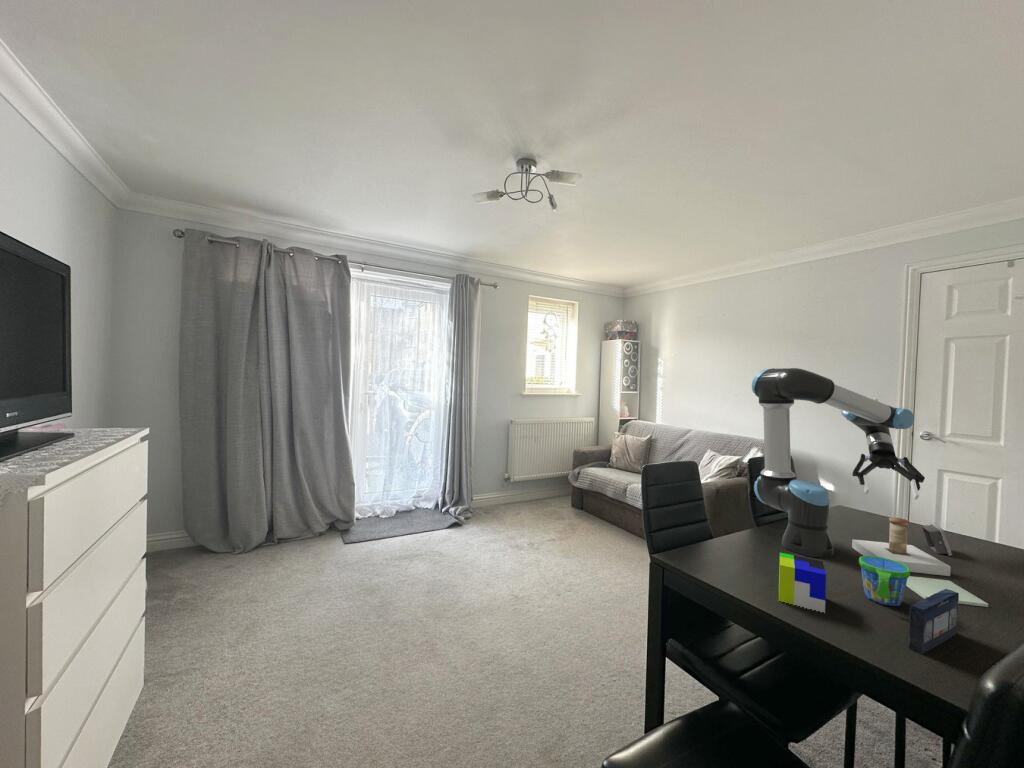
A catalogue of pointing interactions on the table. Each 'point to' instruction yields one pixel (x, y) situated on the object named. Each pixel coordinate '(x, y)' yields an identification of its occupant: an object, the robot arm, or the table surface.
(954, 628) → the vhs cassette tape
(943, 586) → the pad
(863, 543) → the socket block
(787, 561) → the puzzle toy
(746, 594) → the table surface
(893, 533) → the plug
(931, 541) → the electrical switch
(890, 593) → the snack cup
